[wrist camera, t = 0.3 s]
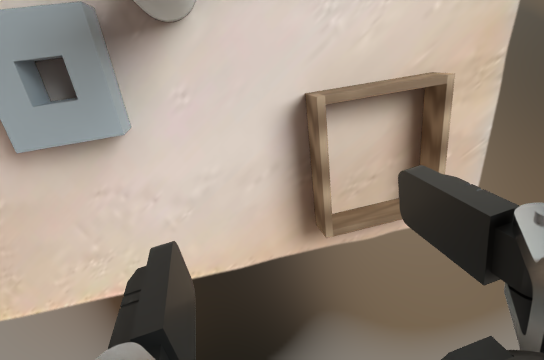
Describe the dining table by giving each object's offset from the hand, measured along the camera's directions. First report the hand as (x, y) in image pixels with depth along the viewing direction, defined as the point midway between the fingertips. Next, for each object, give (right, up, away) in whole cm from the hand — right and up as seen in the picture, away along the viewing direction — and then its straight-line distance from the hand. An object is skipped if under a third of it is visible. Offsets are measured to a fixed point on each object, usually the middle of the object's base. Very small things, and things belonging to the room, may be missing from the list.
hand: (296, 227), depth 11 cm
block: (-22, +12, +21) cm, 33 cm away
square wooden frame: (+13, +6, +33) cm, 36 cm away
